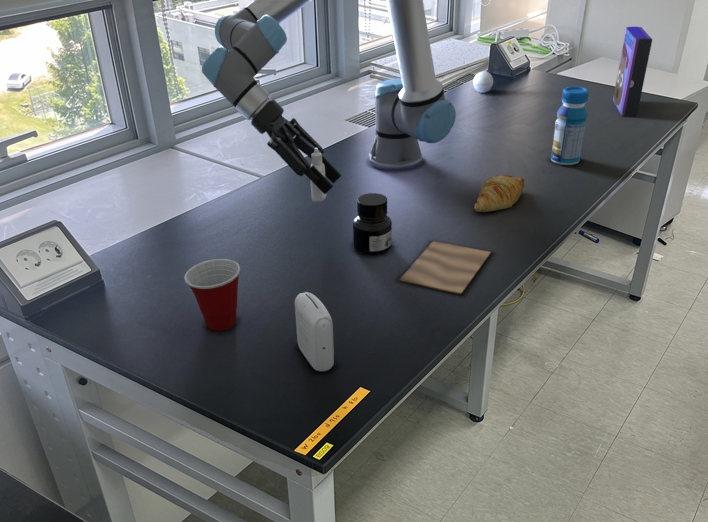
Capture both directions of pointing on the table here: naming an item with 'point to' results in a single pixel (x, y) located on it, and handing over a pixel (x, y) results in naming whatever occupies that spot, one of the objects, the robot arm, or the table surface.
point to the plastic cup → (215, 291)
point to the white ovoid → (483, 82)
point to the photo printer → (314, 331)
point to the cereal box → (632, 71)
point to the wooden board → (446, 267)
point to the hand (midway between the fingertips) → (333, 184)
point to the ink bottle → (372, 225)
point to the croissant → (499, 193)
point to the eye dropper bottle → (317, 163)
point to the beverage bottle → (570, 126)
